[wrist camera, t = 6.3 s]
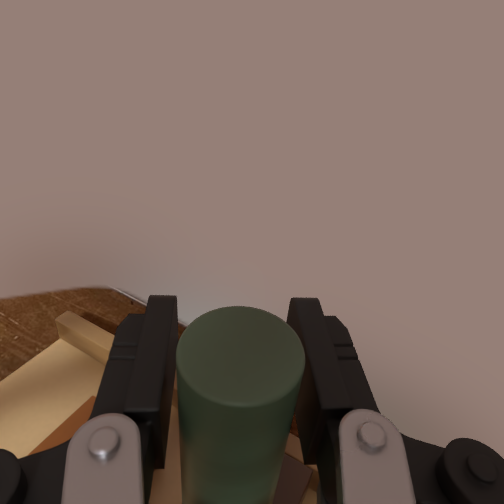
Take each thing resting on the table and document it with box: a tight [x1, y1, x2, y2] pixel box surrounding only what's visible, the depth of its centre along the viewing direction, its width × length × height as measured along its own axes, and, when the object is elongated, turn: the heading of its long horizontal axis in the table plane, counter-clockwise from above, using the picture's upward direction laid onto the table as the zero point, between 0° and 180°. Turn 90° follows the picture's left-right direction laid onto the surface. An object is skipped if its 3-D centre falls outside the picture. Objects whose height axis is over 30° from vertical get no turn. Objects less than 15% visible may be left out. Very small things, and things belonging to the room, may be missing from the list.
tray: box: [0, 310, 320, 504], centre depth 16 cm, size 18×11×3 cm, turn 61°
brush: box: [176, 306, 313, 504], centre depth 11 cm, size 4×7×12 cm, turn 151°
